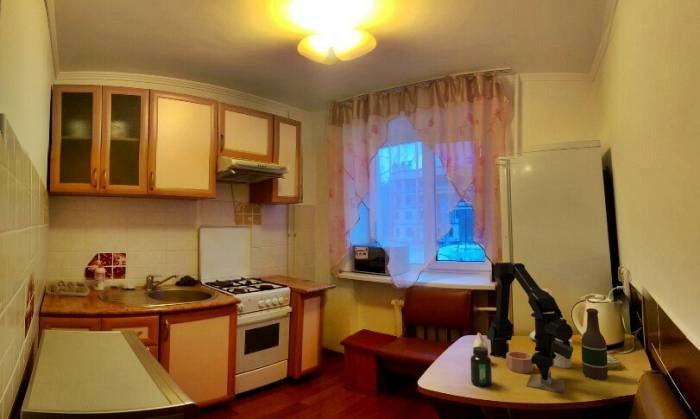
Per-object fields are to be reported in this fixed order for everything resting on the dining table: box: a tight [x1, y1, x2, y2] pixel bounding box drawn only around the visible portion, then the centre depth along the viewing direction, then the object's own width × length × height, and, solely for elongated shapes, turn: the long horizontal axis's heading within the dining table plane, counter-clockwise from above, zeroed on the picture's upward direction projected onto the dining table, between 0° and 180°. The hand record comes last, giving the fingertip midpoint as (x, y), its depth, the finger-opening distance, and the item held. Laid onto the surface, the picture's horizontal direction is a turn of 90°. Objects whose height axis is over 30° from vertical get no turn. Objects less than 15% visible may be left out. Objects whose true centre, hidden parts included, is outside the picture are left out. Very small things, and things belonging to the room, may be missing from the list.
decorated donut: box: [607, 353, 622, 371], centre depth 145 cm, size 10×11×4 cm
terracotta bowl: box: [505, 350, 535, 374], centre depth 144 cm, size 9×9×5 cm
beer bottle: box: [580, 307, 609, 381], centre depth 136 cm, size 8×8×24 cm
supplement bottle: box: [470, 347, 493, 388], centre depth 131 cm, size 7×7×12 cm
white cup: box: [553, 338, 573, 369], centre depth 146 cm, size 8×8×10 cm
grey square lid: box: [525, 369, 567, 395], centre depth 130 cm, size 11×11×5 cm
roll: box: [472, 332, 489, 350], centre depth 150 cm, size 6×12×6 cm
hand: (546, 378), depth 130 cm, fingers open, 4 cm apart
